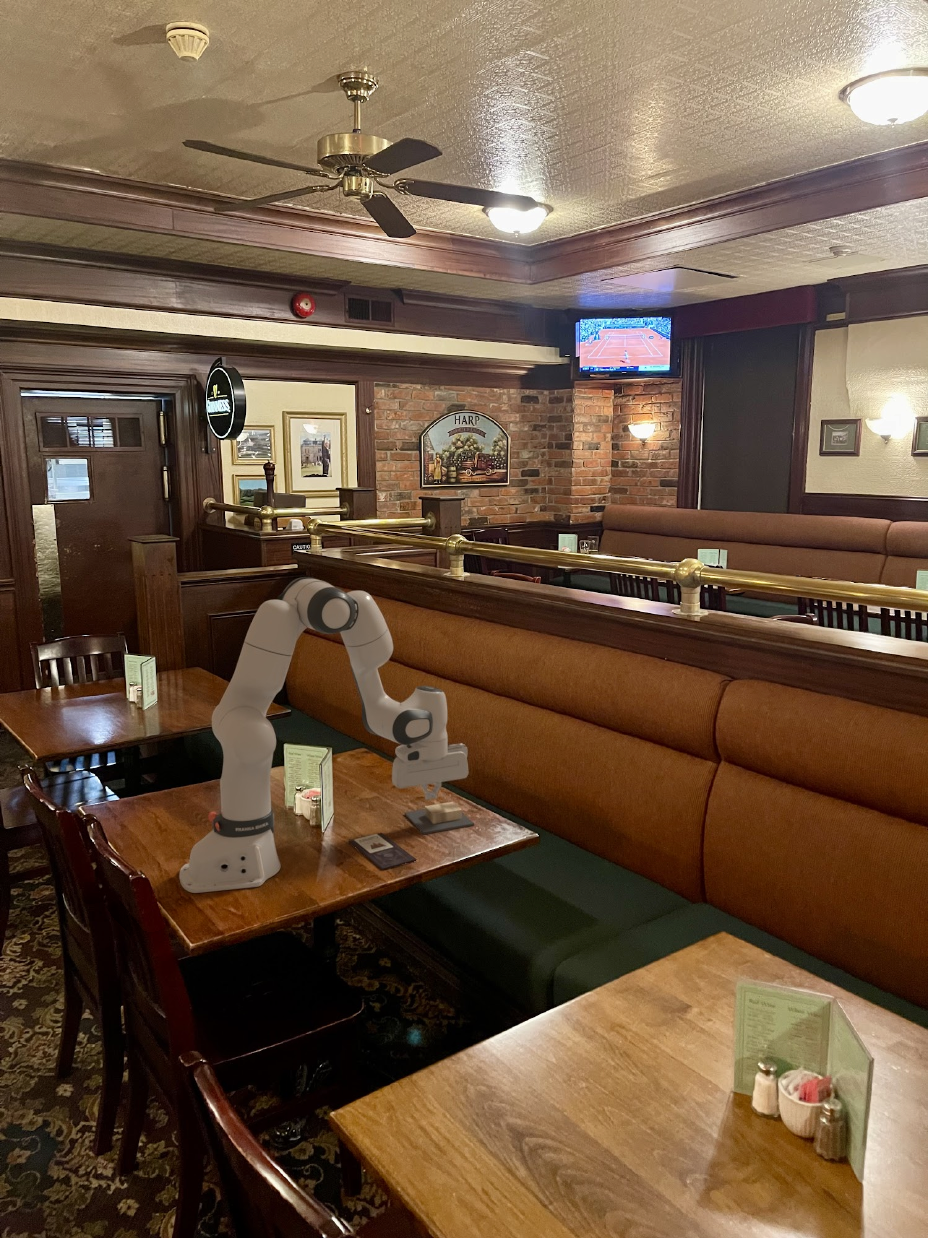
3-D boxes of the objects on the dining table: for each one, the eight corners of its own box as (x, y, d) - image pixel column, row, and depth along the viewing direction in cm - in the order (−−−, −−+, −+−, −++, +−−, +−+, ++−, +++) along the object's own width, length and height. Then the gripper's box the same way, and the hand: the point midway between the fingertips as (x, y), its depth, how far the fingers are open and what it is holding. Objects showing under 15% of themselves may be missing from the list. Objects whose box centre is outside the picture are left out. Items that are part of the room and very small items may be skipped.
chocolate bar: (382, 868, 211) (348, 841, 226) (382, 872, 211) (348, 844, 226) (416, 859, 215) (381, 832, 230) (416, 863, 216) (381, 836, 231)
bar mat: (423, 834, 231) (423, 832, 230) (404, 814, 243) (404, 812, 243) (474, 825, 236) (474, 823, 236) (453, 806, 249) (453, 804, 249)
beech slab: (433, 823, 236) (461, 818, 239) (433, 814, 235) (461, 809, 238) (424, 815, 241) (452, 810, 244) (424, 806, 241) (452, 801, 244)
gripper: (462, 738, 242) (462, 788, 245) (389, 749, 234) (390, 800, 236) (472, 745, 236) (472, 796, 239) (397, 756, 228) (398, 809, 231)
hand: (431, 798), depth 238 cm, fingers closed
